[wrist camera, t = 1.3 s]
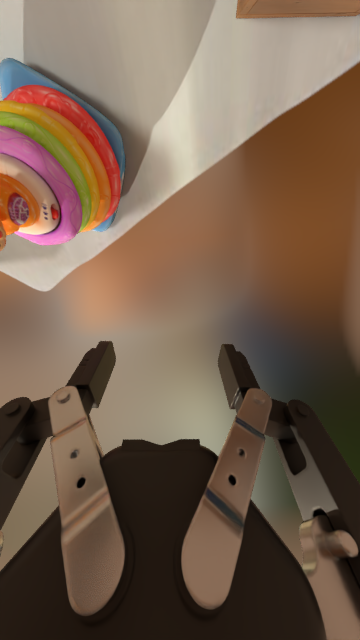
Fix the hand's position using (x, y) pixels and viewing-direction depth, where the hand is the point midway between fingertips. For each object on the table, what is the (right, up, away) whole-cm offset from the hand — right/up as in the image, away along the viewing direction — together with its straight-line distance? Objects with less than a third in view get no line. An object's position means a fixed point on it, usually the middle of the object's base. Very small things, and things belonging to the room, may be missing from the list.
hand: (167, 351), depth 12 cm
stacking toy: (-14, +24, +11) cm, 29 cm away
